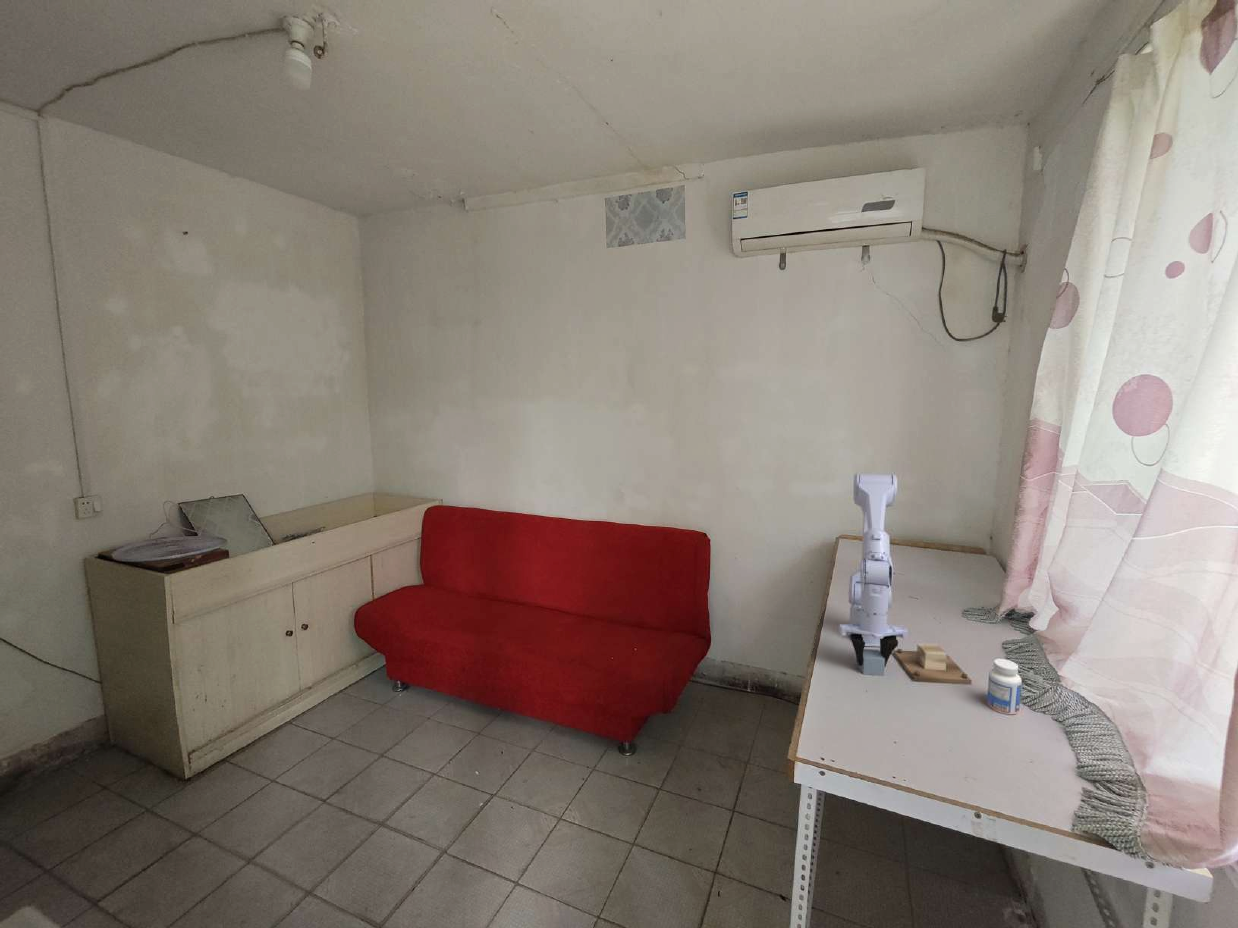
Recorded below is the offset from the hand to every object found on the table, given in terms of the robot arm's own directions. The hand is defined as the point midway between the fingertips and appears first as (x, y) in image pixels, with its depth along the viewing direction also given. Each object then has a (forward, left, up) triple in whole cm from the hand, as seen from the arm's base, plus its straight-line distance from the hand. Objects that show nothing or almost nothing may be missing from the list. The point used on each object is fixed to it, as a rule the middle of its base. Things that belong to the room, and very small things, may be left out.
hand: (870, 664), depth 121 cm
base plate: (-2, +14, -1) cm, 14 cm away
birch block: (-2, +14, 0) cm, 14 cm away
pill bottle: (+12, +22, -2) cm, 25 cm away
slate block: (0, 0, -1) cm, 1 cm away
